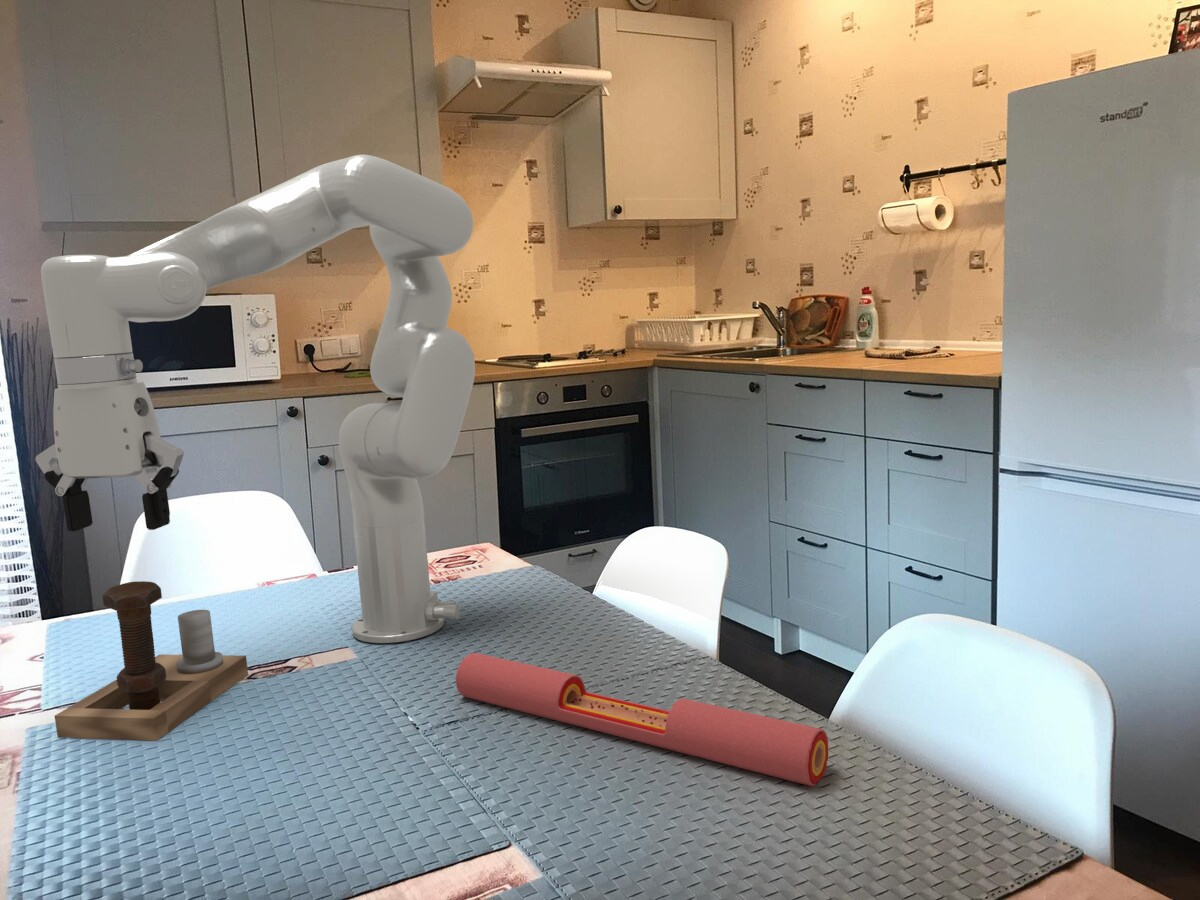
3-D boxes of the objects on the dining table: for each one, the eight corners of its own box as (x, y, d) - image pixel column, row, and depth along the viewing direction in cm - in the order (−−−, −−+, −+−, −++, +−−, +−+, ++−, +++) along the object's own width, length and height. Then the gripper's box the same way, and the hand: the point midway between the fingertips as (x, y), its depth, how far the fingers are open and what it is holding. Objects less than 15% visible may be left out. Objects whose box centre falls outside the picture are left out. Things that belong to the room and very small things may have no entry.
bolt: (151, 727, 104) (136, 598, 101) (109, 725, 104) (93, 596, 101) (180, 703, 109) (168, 580, 106) (140, 701, 110) (126, 579, 107)
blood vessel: (830, 772, 86) (829, 720, 85) (808, 796, 82) (807, 743, 81) (486, 687, 110) (483, 646, 109) (456, 703, 106) (453, 661, 105)
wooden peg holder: (248, 674, 117) (240, 605, 116) (156, 740, 100) (145, 659, 99) (161, 673, 120) (152, 605, 118) (57, 737, 102) (45, 658, 101)
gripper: (190, 365, 103) (210, 518, 106) (51, 373, 106) (74, 521, 109) (146, 371, 96) (168, 535, 99) (-1, 379, 99) (24, 537, 102)
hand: (119, 527), depth 104 cm, fingers open, 9 cm apart
